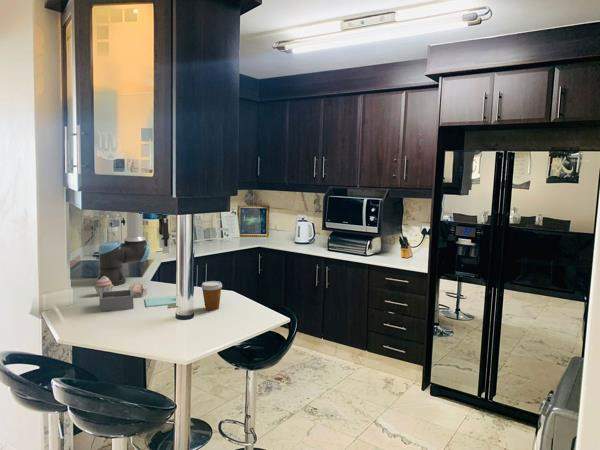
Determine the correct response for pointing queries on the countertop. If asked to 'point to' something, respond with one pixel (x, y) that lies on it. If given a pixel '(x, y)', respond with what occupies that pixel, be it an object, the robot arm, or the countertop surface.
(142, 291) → the packaged product
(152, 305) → the lid
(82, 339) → the countertop surface
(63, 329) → the countertop surface
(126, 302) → the tub
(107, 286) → the cupcake
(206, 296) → the disposable coffee cup
